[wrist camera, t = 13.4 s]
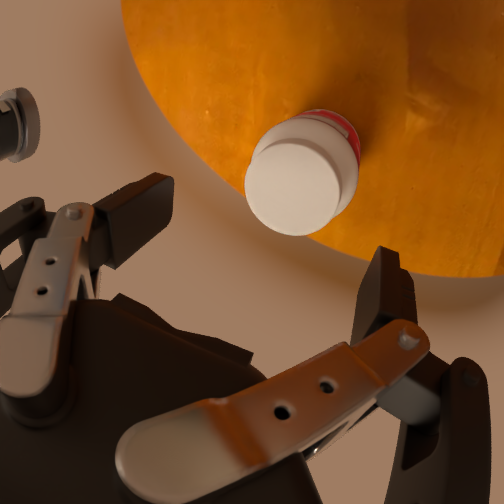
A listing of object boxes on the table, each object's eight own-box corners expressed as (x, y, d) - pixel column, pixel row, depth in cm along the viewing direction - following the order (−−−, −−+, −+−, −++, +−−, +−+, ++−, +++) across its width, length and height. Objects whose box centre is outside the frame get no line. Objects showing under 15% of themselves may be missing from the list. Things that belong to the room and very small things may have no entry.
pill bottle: (336, 197, 25) (314, 270, 16) (271, 159, 26) (212, 211, 17) (375, 133, 22) (381, 172, 13) (304, 94, 22) (259, 103, 13)
